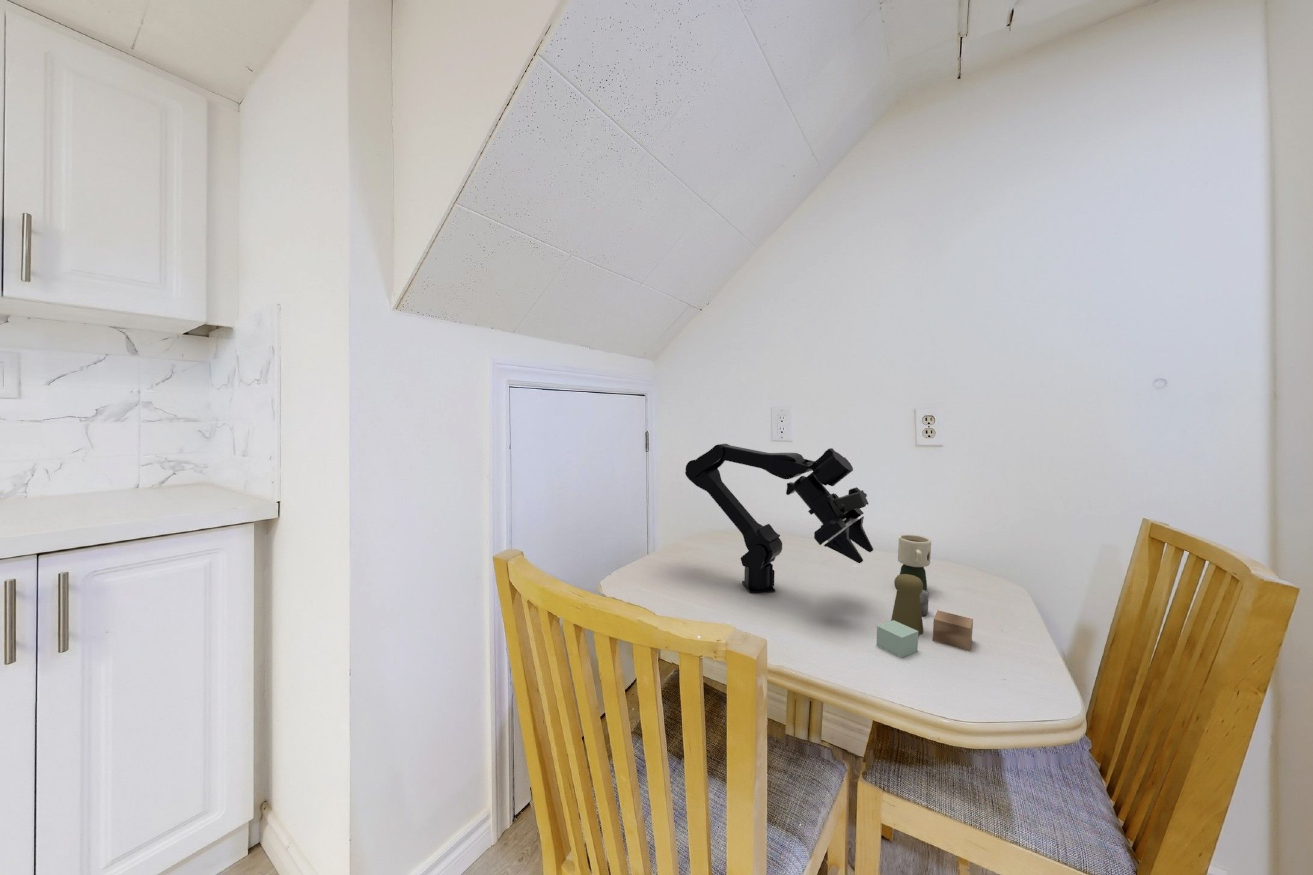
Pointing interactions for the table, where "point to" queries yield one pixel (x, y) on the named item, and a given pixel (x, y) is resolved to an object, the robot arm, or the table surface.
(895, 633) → the sage block
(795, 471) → the robot arm
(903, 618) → the olive pawn
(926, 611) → the grey short cylinder
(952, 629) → the walnut block
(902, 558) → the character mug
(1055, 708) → the table surface
